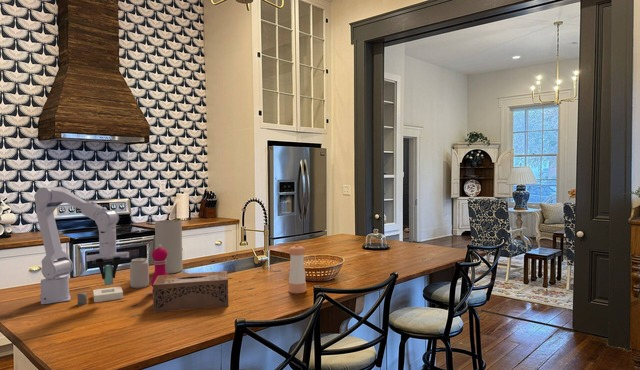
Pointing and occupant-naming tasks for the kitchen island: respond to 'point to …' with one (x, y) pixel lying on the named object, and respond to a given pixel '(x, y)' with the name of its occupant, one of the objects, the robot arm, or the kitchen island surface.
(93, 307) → the kitchen island surface
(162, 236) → the cylinder vase
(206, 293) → the tissue box cover
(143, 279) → the can
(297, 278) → the pepper shaker
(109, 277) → the long dowel
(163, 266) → the pepper mill
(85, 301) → the short dowel
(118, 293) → the hole block
